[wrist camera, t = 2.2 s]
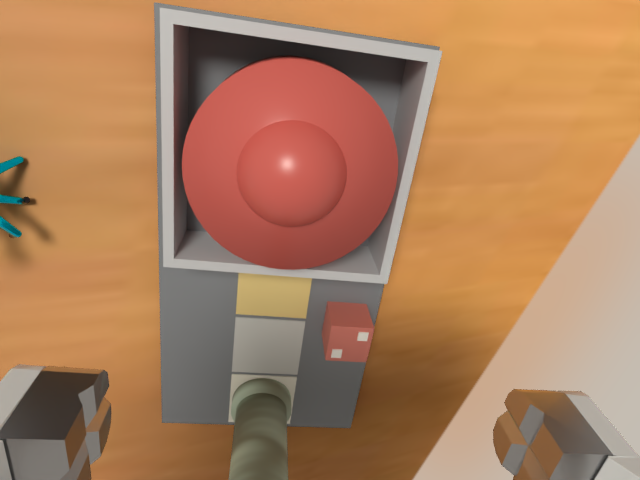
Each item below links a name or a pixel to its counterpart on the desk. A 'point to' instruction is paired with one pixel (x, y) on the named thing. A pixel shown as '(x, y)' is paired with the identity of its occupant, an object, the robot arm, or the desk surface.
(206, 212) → the dome
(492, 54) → the desk surface
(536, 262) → the desk surface
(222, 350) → the game board
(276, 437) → the pawn
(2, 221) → the stick construction toy
